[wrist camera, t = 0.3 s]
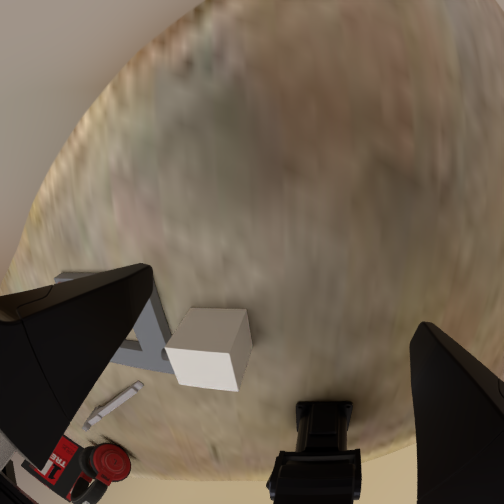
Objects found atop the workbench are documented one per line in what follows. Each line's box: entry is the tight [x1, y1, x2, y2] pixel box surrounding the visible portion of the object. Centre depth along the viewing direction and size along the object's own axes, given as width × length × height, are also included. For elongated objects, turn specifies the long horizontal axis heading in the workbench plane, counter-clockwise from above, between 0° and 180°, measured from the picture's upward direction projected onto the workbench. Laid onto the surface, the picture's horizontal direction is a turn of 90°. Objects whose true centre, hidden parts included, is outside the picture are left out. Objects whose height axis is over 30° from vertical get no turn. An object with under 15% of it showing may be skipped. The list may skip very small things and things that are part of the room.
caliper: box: [82, 381, 144, 431], centre depth 36 cm, size 20×1×6 cm, turn 135°
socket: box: [54, 273, 175, 374], centre depth 30 cm, size 12×14×2 cm
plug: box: [161, 308, 253, 392], centre depth 25 cm, size 4×7×6 cm, turn 97°
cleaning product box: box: [21, 434, 84, 502], centre depth 54 cm, size 16×9×20 cm, turn 70°
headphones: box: [70, 443, 131, 504], centre depth 44 cm, size 18×10×20 cm, turn 135°
